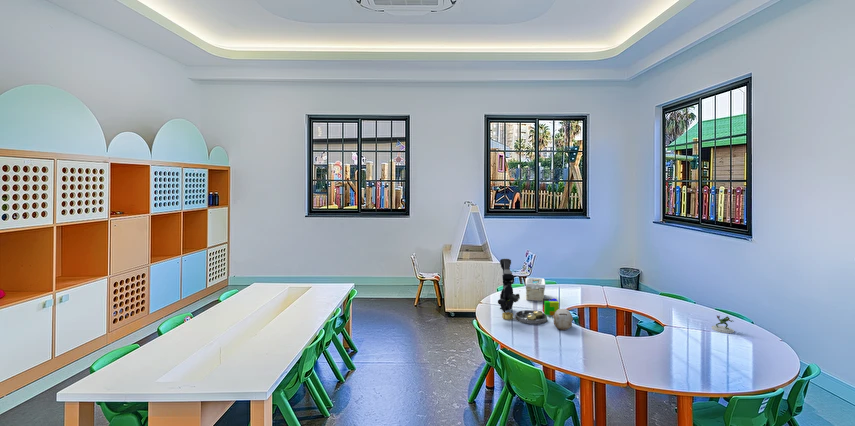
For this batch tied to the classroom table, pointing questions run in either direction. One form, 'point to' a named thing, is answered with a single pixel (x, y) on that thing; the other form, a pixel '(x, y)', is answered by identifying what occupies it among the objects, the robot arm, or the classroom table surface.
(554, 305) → the puzzle toy
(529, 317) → the tray
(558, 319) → the coin bank
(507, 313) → the planet gear
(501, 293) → the robot arm
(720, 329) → the monster figurine
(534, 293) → the storage basket
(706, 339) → the classroom table surface
